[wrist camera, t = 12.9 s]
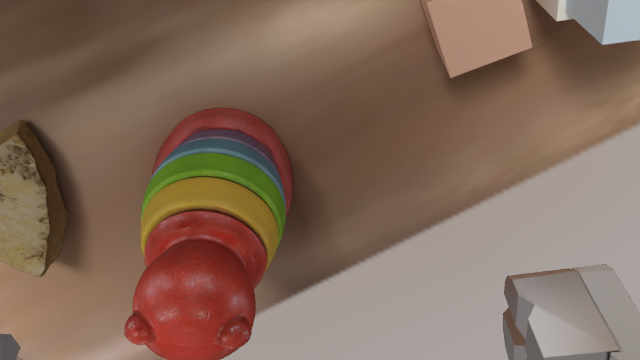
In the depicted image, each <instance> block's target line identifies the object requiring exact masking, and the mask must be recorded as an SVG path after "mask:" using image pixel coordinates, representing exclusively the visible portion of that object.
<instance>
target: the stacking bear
mask: <svg viewBox="0 0 640 360" xmlns="http://www.w3.org/2000/svg"><path fill="white" fill-rule="evenodd" d="M292 193H293V177H292V169H291V165H290V161H289V158H288V155H287V153H286V151H285V148H284V146H283V144H282V143H281V141H280V140H279V138H278V136H277V135H276V134H275V132H274V131H273V130H272V129H271V128H270V127H269V126H268V125H267V124H265V123H264V122H263V121H262V120H260V119H258V118H257V117H255V116H253V115H251V114H248V113H246V112H243V111H239V110H235V109H226V108H215V109H208V110H203V111H200V112H197V113H195V114H193V115H191V116H189V117H187V118H186V119H184V120H183V121H182V122H180V123H179V124H178V125H177V126H176V127H175V129H174V130H173V131H172V132H171V133H170V134H169V136H168V137H167V138H166V140H165V141H164V143H163V145H162V146H161V148H160V150H159V152H158V155H157V158H156V161H155V164H154V168H153V173H152V178H151V180H150V182H149V185H148V187H147V189H146V192H145V196H144V200H143V205H142V212H141V249H142V253H143V256H144V260H145V264H146V267H147V268H146V270H145V271H144V273H143V274H142V276H141V278H140V280H139V282H138V285H137V287H136V290H135V293H134V298H133V314H132V315H131V316H130V317H129V318H128V320H127V322H126V324H125V327H124V334H125V336H126V338H127V339H128V340H129V341H130V342H132V343H134V344H136V345H145V344H146V346H147V347H148V348H149V349H150V350H152V351H153V352H154V353H155V354H157V355H158V356H160V357H162V358H164V359H166V360H220V359H222V358H224V357H226V356H228V355H230V354H231V353H233V352H234V351H236V350H237V349H238V348H240V347H241V346H243V345H244V344H245V343H247V342H248V341H249V339H250V336H251V330H252V326H253V322H254V318H255V310H256V305H255V294H254V288H255V287H256V286H257V285H258V284H259V282H260V281H261V279H262V277H263V275H264V274H265V272H266V271H267V269H268V267H269V265H270V263H271V261H272V259H273V257H274V254H275V252H276V250H277V248H278V246H279V244H280V241H281V238H282V234H283V230H284V226H285V221H286V216H287V214H288V212H289V208H290V204H291V200H292Z"/></svg>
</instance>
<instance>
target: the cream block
mask: <svg viewBox="0 0 640 360" xmlns="http://www.w3.org/2000/svg"><path fill="white" fill-rule="evenodd" d="M536 1H537V2H538V3H539V4H540V5H541V6H542V7H543V8H544V9H545V10H546V11H547V12H548V13H549V14H550V15H551V16H552V17H553V18H554V19H555V20H556V21H563V20H570V19H574V18H573V17H572V16H570V15H569V14H568V13H567V12H566V11H565V7H566V0H536Z"/></svg>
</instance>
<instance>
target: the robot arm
mask: <svg viewBox="0 0 640 360" xmlns="http://www.w3.org/2000/svg"><path fill="white" fill-rule="evenodd" d="M504 294H505V297H506V300H507V303H508V306H509V308H508V309H507V310H506V311H505V312H504V313H503V332H504V340H505V346H506V350H507V354H508V358H509V360H640V312H639V311H638V309H637V308H636V306H635V304H634V303H633V301H632V300H631V298H630V296H629V295H628V293H627V292H626V290H625V289H624V287H623V285H622V284H621V282H620V281H619V279H618V277H617V276H616V274H615V272H614V271H613V269H612V268H611V267H609V266H608V265H607V264H602V265H594V266H586V267H577V268H572V269H560V270H553V271H544V272H536V273H528V274H520V275H512V276H507V278H506V281H505V290H504ZM19 350H20V346H19V345H18V343H17V342H16V341H15V339H14V338H13V336H12V335H11V334H0V360H23V359H21V358H19V357H18V354H19Z"/></svg>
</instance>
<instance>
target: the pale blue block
mask: <svg viewBox="0 0 640 360" xmlns="http://www.w3.org/2000/svg"><path fill="white" fill-rule="evenodd" d="M565 11H566V12H567V13H568V14H569V15H570V16H572V17H573V18H574V19H575V20H576V21H577V22H578V23H579V24H580V25H581V26H582V27H583V28H585V29H586V30H587V31H588V32H589V33H590V34H591V35H592V36H593V37H594V38H595V39H596V40H597V41H599V42H600V43H601V44H602V45H605V44H613V43H621V42H628V41H636V40H640V0H566V7H565Z"/></svg>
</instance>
